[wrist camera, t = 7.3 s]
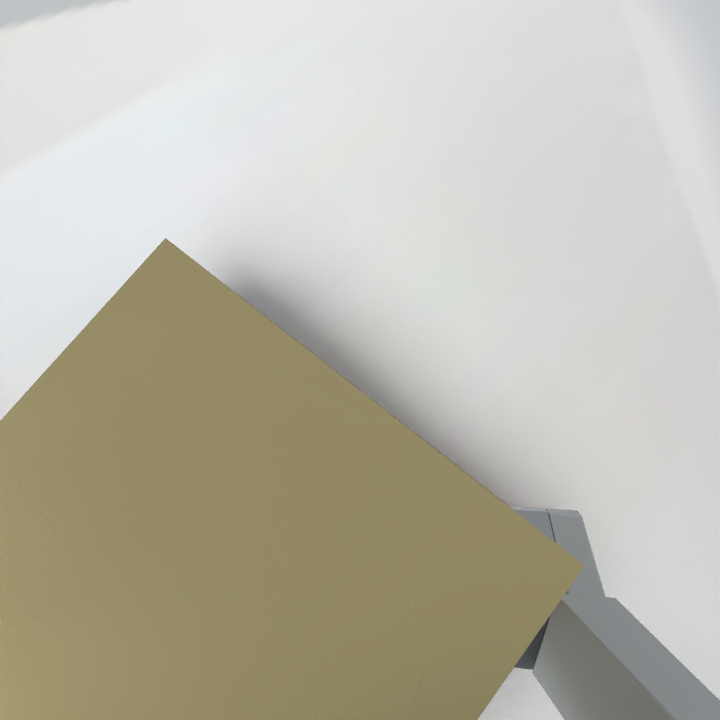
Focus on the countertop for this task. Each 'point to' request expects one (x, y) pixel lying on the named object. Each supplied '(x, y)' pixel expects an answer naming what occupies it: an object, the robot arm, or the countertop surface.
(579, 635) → the robot arm
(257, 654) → the brass block
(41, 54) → the countertop surface
